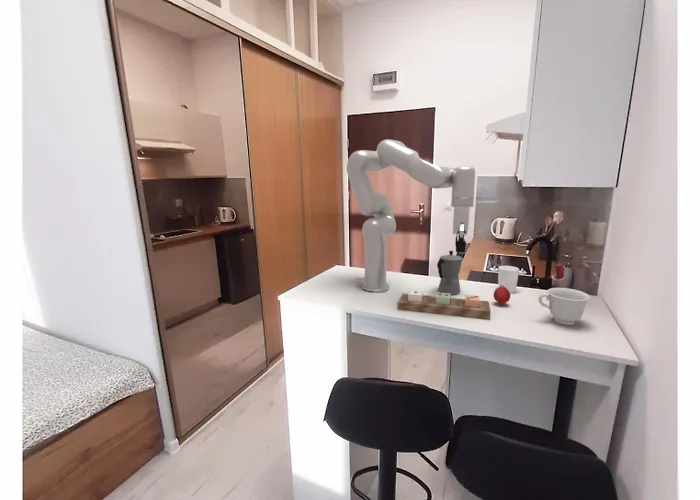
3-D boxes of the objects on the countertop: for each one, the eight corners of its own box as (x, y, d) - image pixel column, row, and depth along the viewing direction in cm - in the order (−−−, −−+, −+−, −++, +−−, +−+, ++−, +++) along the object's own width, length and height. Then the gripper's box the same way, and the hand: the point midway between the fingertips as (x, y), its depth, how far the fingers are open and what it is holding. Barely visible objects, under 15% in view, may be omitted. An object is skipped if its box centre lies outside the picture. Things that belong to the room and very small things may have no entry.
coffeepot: (448, 285, 149) (450, 246, 146) (467, 290, 142) (470, 250, 138) (427, 293, 140) (428, 252, 136) (446, 299, 133) (448, 255, 129)
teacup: (528, 313, 118) (531, 287, 115) (573, 314, 116) (577, 287, 114) (544, 328, 106) (548, 299, 104) (594, 330, 104) (599, 300, 102)
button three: (464, 307, 118) (464, 298, 117) (464, 302, 122) (464, 294, 122) (479, 309, 116) (479, 300, 115) (478, 304, 121) (479, 295, 120)
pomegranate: (496, 300, 130) (498, 281, 129) (511, 304, 126) (513, 284, 125) (490, 304, 127) (491, 284, 125) (505, 308, 122) (507, 288, 121)
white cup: (492, 289, 144) (494, 267, 142) (505, 286, 147) (507, 264, 145) (507, 294, 137) (509, 271, 135) (521, 292, 140) (523, 269, 138)
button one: (408, 302, 124) (408, 293, 123) (410, 297, 129) (410, 289, 128) (421, 303, 122) (421, 294, 122) (423, 298, 127) (423, 290, 126)
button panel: (397, 309, 123) (397, 302, 123) (402, 300, 133) (402, 293, 132) (490, 319, 113) (490, 311, 113) (488, 308, 122) (488, 301, 122)
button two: (435, 304, 121) (435, 296, 120) (436, 300, 125) (436, 291, 125) (449, 306, 119) (450, 297, 119) (450, 301, 124) (450, 292, 123)
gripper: (451, 200, 127) (449, 244, 131) (451, 204, 111) (449, 253, 114) (472, 200, 125) (469, 245, 129) (475, 204, 109) (472, 254, 112)
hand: (460, 249), depth 122 cm, fingers open, 9 cm apart
